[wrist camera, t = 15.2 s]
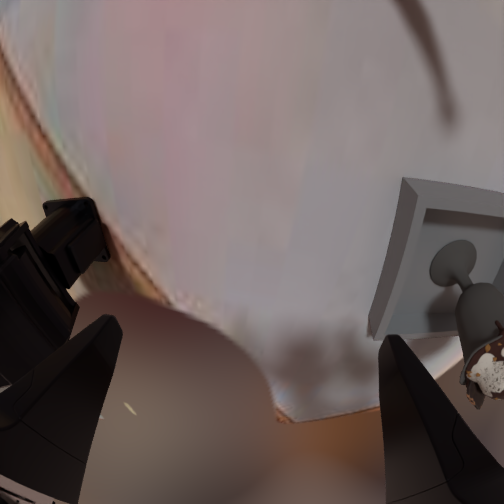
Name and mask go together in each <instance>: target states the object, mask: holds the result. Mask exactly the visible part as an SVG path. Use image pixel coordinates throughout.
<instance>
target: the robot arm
mask: <svg viewBox="0 0 504 504" xmlns="http://www.w3.org/2000/svg"><path fill="white" fill-rule="evenodd" d="M87 203H88V204H87ZM43 209H44V212H45V215H46V218H45V219H43V220H42V221H41V222H40V223H39V224H38V225H37V226H36V227H34V228H33V229H32V230H31V231H30V230H29V225H28V224H27V222H26V221H24V222H22V223H20V224H19V223H18V222H16V221H14V220H13V219H12V218H11V219H9V220H8V221H7V222H6V223H4V224H3V225H2V226H1V227H0V388H3V387H8V386H10V387H9V388H7V389H6V390H4V391H3V392H1V393H0V504H55V502H54V501H53V499H54V498H55V499H57V500H60V501H63V502H67V503H69V504H78V500H79V495H80V491H81V486H82V481H83V477H84V473H85V468H86V463H87V460H88V456H89V452H90V448H91V444H92V441H93V437H94V434H95V430H96V427H97V423H98V420H99V416H100V413H101V410H102V407H103V403H104V400H105V397H106V394H107V391H108V388H109V385H110V382H111V379H112V376H113V373H114V369H115V364H116V361H117V357H118V352H119V348H120V344H121V340H122V336H123V333H122V329H121V327H120V325H119V323H118V321H117V319H116V317H115V316H113V315H108V314H104V315H102V316H101V317H99V318H98V319H97V320H95V321H94V322H93V323H92V324H90V325H89V326H87V327H86V328H85V329H83V330H82V331H81V332H80V333H78V334H77V335H76V336H74V337H73V338H72V339H70V340H69V338H70V335H71V332H72V329H73V326H74V323H75V320H76V316H77V314H78V311H79V308H80V307H79V305H78V304H77V303H76V302H75V301H74V300H73V299H72V297H71V296H70V294H69V293H68V291H67V290H66V289H70V288H71V287H72V285H73V284H74V283H75V281H76V280H77V279H78V277H79V276H80V275H81V274H83V273H84V272H85V271H86V270H87V269H88V267H89V266H90V265H91V264H92V262H93V261H100V262H107V261H108V260H109V259H110V253H109V250H108V248H107V245H106V242H105V239H104V236H103V233H102V230H101V227H100V224H99V220H98V217H97V214H96V210H95V207H94V204H93V201H92V199H91V198H89V197H81V198H70V199H60V200H50V201H46V202H44V203H43ZM378 362H379V400H380V410H381V419H382V430H383V441H384V457H385V480H386V481H385V482H386V504H504V468H503V467H502V466H501V465H500V464H499V463H498V462H497V461H496V459H495V458H494V457H493V456H492V455H491V453H490V452H489V451H488V450H487V449H486V448H485V446H484V445H483V444H482V443H481V442H480V440H479V439H478V438H477V437H476V436H475V434H473V432H472V431H471V429H470V428H469V426H468V425H467V424H466V422H465V421H464V420H463V418H462V417H461V415H460V414H459V413H458V412H457V410H456V409H455V407H454V406H453V404H452V403H451V402H450V400H449V399H448V398H447V396H446V395H445V393H444V392H443V391H442V389H441V388H440V387H439V385H438V384H437V383H436V381H435V380H434V379H433V377H432V376H431V375H430V373H429V372H428V371H427V369H426V368H425V367H424V365H423V364H422V363H421V362H420V360H419V359H418V358H417V356H416V355H415V354H414V353H413V351H412V350H411V349H410V348H409V346H408V345H407V344H406V343H405V341H404V340H403V339H402V338H401V336H400V335H398V334H388V335H386V336H385V338H384V340H383V343H382V345H381V347H380V349H379V353H378ZM457 413H458V414H457Z"/></svg>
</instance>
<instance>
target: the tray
mask: <svg viewBox="0 0 504 504" xmlns="http://www.w3.org/2000/svg"><path fill="white" fill-rule="evenodd" d="M456 240H467V241H469V242H471V243H472V244H473V245H474V246H475V248H476V252H477V259H476V263H475V266H474V268H473V270H472V271H471V273H470V274H469V277H470V279H471V281H472V282H473V284H475V283H480V282H483V283H490V284H493V285H494V286H495V287H496V288H497V289H498V290H499V291H500V292H501V293H502V294H503V295H504V193H500V192H495V191H490V190H485V189H479V188H474V187H468V186H462V185H456V184H450V183H443V182H436V181H429V180H422V179H414V178H405V177H403V179H402V185H401V190H400V196H399V201H398V206H397V211H396V216H395V221H394V225H393V230H392V234H391V238H390V242H389V247H388V251H387V255H386V258H385V262H384V266H383V270H382V273H381V277H380V280H379V284H378V287H377V290H376V294H375V297H374V300H373V303H372V307H371V310H370V313H369V321H370V325H371V330H372V336H373V341H377V340H384V338H385V336H386V335H388V334H398V335H400V336H401V338H402V339H403V340H404V339H422V338H436V337H448V336H458V335H459V334H458V330H457V323H456V317H455V308H456V305H457V302H458V299H459V297H460V295H461V294H462V290H461V288H460V286H459V285H458V284H455V285H453V286H448V287H442V286H439V285H437V284H435V283H434V282H433V281H432V279H431V277H430V267H431V263H432V261H433V259H434V257H435V256H436V254H437V253H438V252H439V251H440V250H441V249H442V248H443V247H444V246H445V245H447V244H449V243H451V242H453V241H456Z"/></svg>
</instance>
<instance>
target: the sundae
mask: <svg viewBox="0 0 504 504" xmlns="http://www.w3.org/2000/svg"><path fill="white" fill-rule="evenodd" d="M476 259H477V252H476V248H475V246H474V245H473V244H472V243H471V242H469V241H467V240H456V241H453V242H451V243H449V244H447V245H445V246H444V247H443V248H442V249H441V250H440V251H439V252H438V253H437V254H436V256H435V257H434V259H433V261H432V263H431V267H430V277H431V279H432V281H433V282H434V283H435V284H437V285H439V286H442V287H448V286H453V285H455V284H458V285H459V286H460V288H461V290H462V294H461V295H460V297H459V299H458V302H457V305H456V308H455V317H456V323H457V330H458V334H459V338H460V342H461V346H462V351H463V357H464V362H465V365H464V368H463V370H462V372H461V376H460V384H461V385H466V387H467V398H468V399H469V401H470V402H471V403H472V404H473V405H474V406H475V407H476V408H477V409H480V408H481V406H482V404H483V401H484V398H485V396H487V397H490V398H492V399H494V400H500V399H504V295H503V294H502V293H501V292H500V291H499V290H498V289H497V288H496V287H495V286H494V285H493V284H490V283H483V282H480V283H475V284H473V282H472V281H471V279H470V277H469V274H470V273H471V271H472V270H473V268H474V266H475V263H476Z"/></svg>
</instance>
